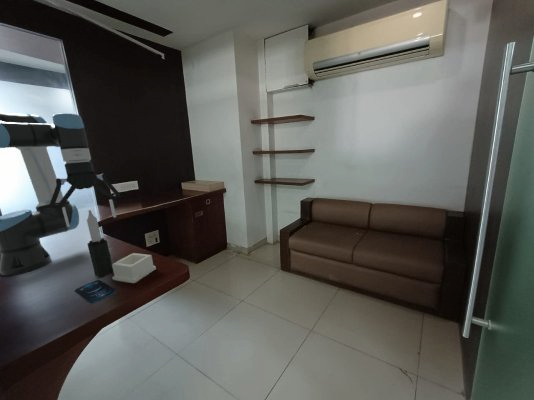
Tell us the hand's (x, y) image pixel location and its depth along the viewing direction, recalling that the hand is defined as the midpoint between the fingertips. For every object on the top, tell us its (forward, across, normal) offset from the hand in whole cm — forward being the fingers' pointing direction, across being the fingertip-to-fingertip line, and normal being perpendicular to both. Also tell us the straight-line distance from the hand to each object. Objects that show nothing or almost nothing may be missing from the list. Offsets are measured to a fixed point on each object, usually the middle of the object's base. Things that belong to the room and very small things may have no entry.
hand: (92, 221), depth 85 cm
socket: (+21, +8, -10) cm, 24 cm away
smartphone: (+22, -4, -11) cm, 25 cm away
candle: (+21, 0, 0) cm, 21 cm away
